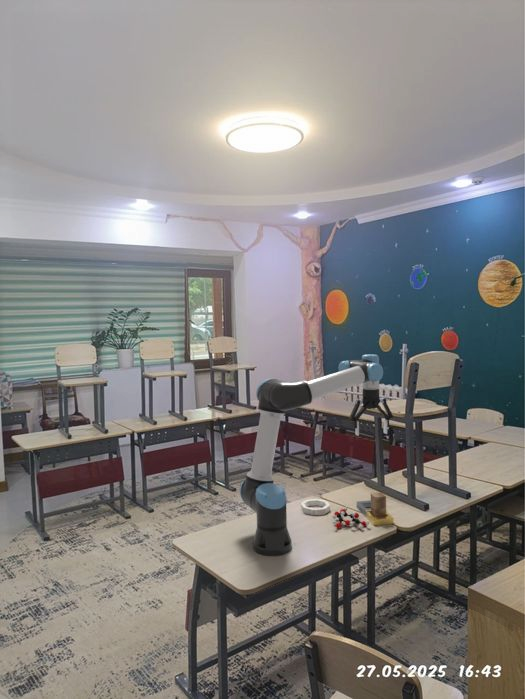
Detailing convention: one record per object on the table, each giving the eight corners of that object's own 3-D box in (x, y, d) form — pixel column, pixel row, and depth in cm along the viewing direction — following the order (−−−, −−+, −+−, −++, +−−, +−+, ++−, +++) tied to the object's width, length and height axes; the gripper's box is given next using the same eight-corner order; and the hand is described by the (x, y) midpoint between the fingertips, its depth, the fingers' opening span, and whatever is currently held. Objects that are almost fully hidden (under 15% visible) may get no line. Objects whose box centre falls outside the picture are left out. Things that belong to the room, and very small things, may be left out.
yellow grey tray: (373, 525, 208) (373, 519, 208) (356, 506, 229) (356, 501, 229) (393, 523, 210) (393, 517, 210) (374, 505, 230) (374, 499, 230)
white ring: (305, 516, 220) (305, 510, 220) (299, 505, 232) (299, 500, 232) (332, 513, 222) (332, 508, 222) (324, 503, 234) (324, 498, 234)
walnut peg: (375, 522, 212) (375, 497, 211) (370, 517, 217) (370, 493, 216) (386, 521, 212) (386, 496, 212) (381, 516, 217) (381, 492, 217)
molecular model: (334, 516, 219) (367, 510, 217) (337, 540, 209) (372, 535, 206) (329, 501, 214) (363, 495, 211) (332, 526, 203) (368, 520, 201)
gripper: (347, 390, 218) (347, 437, 219) (400, 388, 221) (400, 434, 223) (341, 388, 225) (342, 434, 227) (393, 385, 229) (393, 430, 230)
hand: (371, 434), depth 225 cm, fingers open, 13 cm apart
